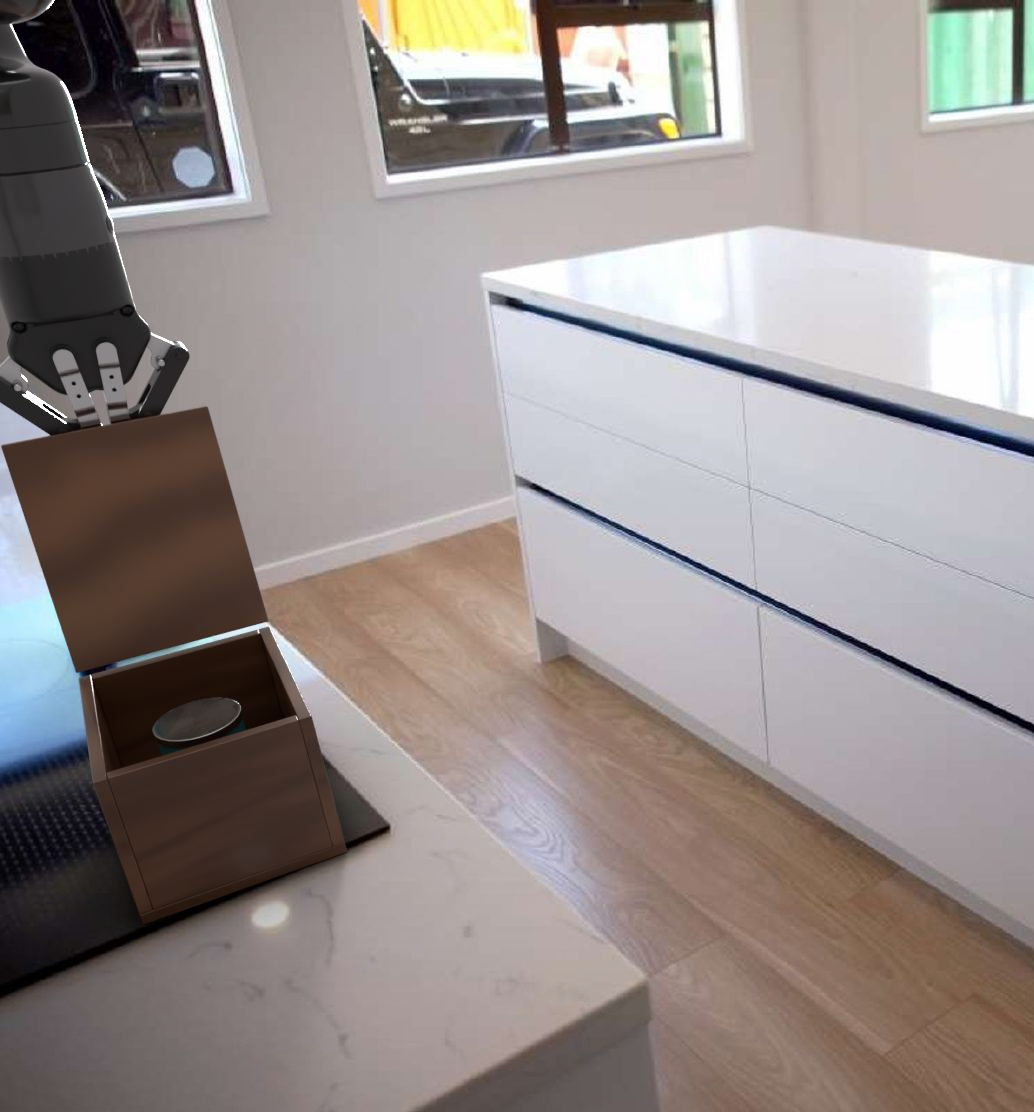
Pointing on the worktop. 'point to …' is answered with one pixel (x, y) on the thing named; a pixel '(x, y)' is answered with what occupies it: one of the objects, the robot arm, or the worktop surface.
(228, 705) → the tin
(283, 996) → the worktop surface
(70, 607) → the lid
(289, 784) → the bin
